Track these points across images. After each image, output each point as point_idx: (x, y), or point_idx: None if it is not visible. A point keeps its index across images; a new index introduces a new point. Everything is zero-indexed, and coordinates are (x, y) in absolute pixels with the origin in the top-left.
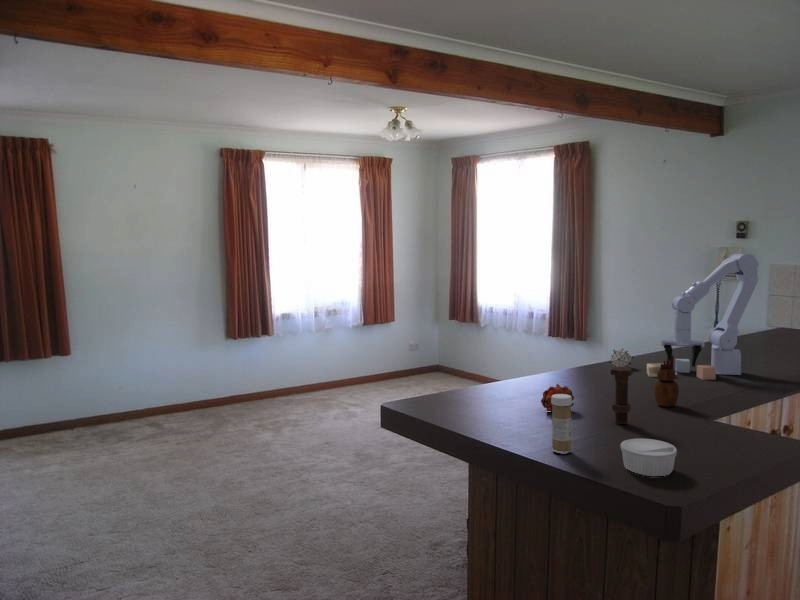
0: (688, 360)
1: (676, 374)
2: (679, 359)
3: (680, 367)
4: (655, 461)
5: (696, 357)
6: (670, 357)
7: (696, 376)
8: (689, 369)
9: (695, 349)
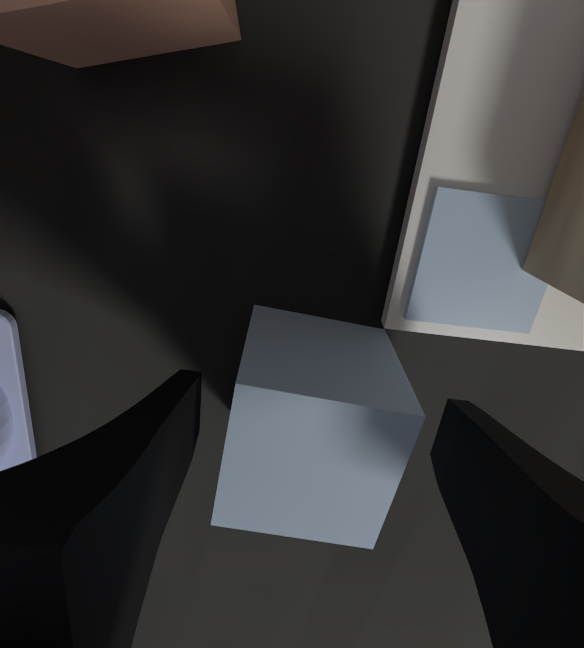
0: (239, 444)
1: (447, 189)
2: (342, 504)
3: (354, 358)
4: None
5: (113, 427)
6: (532, 463)
7: (237, 31)
8: (252, 329)
9: (58, 513)
